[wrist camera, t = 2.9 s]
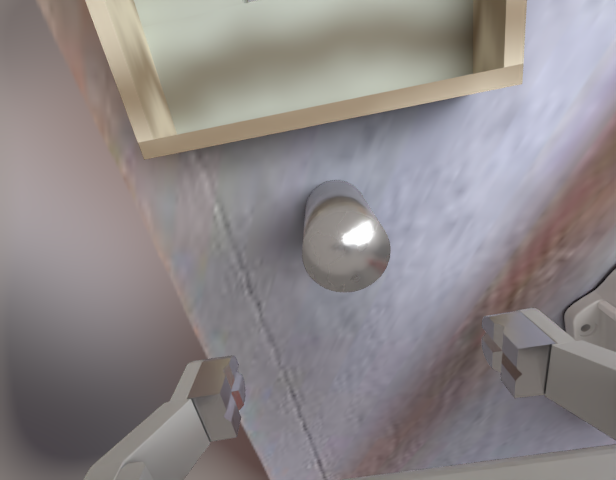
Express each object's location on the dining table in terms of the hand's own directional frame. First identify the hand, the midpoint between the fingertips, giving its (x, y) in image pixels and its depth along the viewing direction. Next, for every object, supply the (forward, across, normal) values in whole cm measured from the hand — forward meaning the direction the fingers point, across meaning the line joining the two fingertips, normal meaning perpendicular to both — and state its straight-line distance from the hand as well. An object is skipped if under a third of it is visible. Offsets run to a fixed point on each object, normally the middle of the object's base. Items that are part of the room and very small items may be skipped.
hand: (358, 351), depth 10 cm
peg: (+17, -1, 0) cm, 17 cm away
